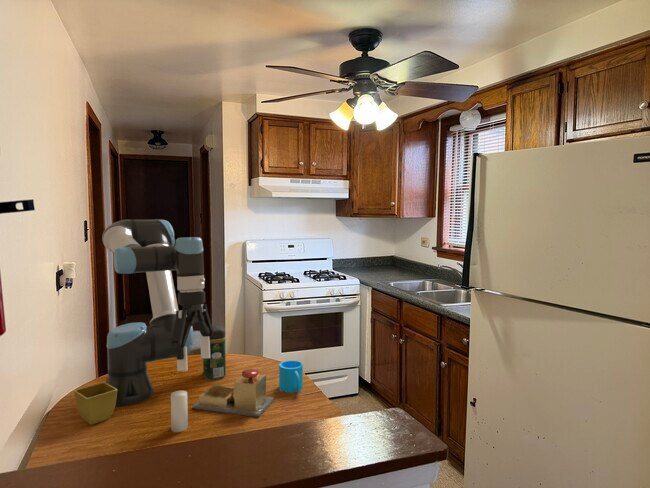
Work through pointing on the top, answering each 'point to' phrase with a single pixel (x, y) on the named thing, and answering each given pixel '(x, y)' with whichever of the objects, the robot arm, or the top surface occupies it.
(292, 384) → the mug
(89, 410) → the flower pot
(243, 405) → the red push button box
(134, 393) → the robot arm
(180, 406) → the white rounded cylinder
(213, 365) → the coffee jar
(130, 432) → the top surface
